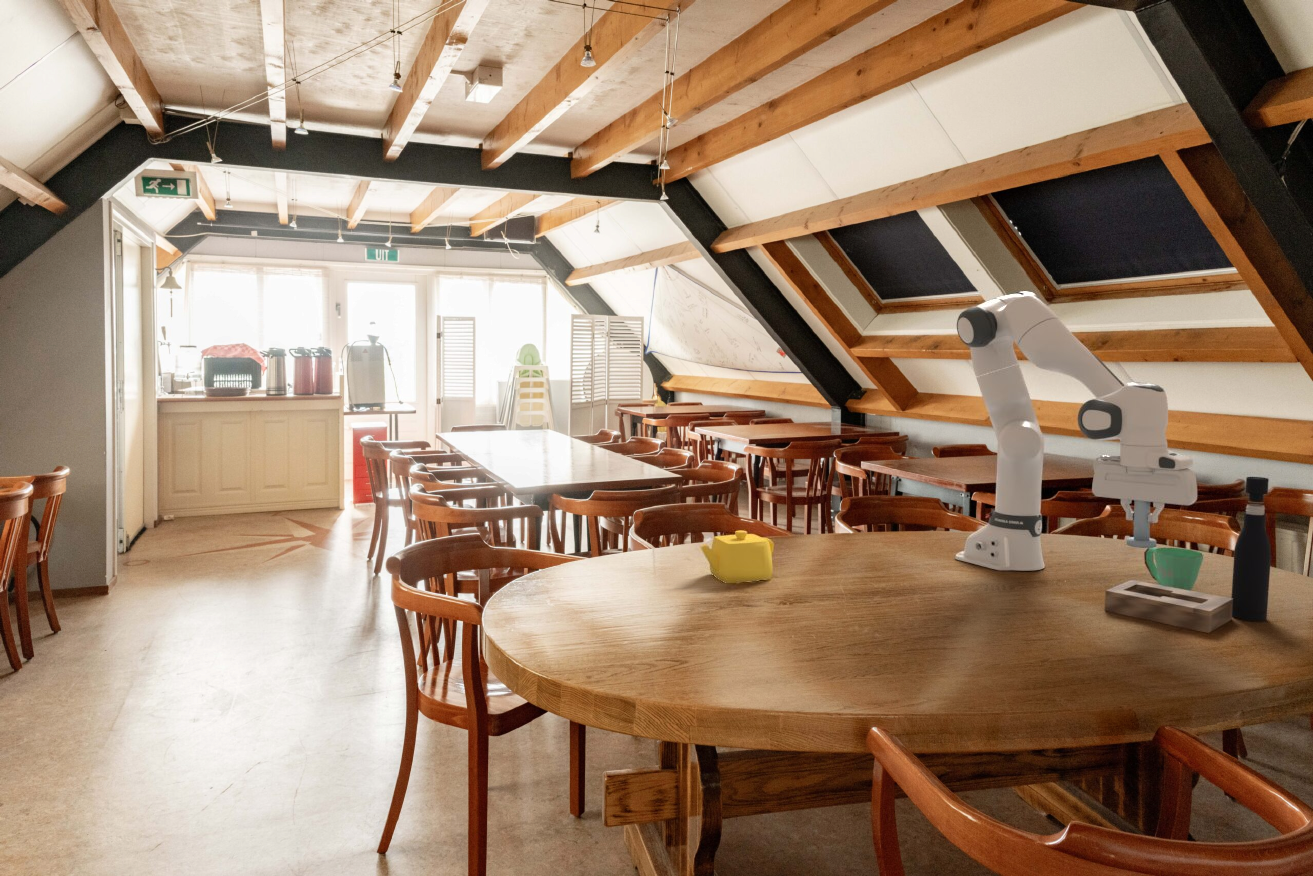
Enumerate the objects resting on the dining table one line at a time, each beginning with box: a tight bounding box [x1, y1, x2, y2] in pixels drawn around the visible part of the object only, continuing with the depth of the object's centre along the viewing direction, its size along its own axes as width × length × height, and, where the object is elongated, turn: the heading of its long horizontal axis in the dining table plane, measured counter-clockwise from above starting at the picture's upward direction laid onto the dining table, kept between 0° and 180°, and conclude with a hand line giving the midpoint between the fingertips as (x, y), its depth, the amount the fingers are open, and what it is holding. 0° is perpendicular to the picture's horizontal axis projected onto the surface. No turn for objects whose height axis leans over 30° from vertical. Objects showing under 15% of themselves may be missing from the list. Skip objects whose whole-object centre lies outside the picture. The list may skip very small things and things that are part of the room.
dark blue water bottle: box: [1230, 476, 1272, 623], centre depth 180 cm, size 6×6×30 cm
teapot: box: [699, 530, 775, 584], centre depth 214 cm, size 20×12×12 cm, turn 109°
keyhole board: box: [1104, 579, 1233, 634], centre depth 182 cm, size 20×14×4 cm
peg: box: [1126, 500, 1157, 549], centre depth 184 cm, size 6×6×12 cm
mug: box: [1143, 546, 1204, 591], centre depth 201 cm, size 15×10×10 cm
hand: (1141, 521), depth 184 cm, fingers closed on peg, 3 cm apart
